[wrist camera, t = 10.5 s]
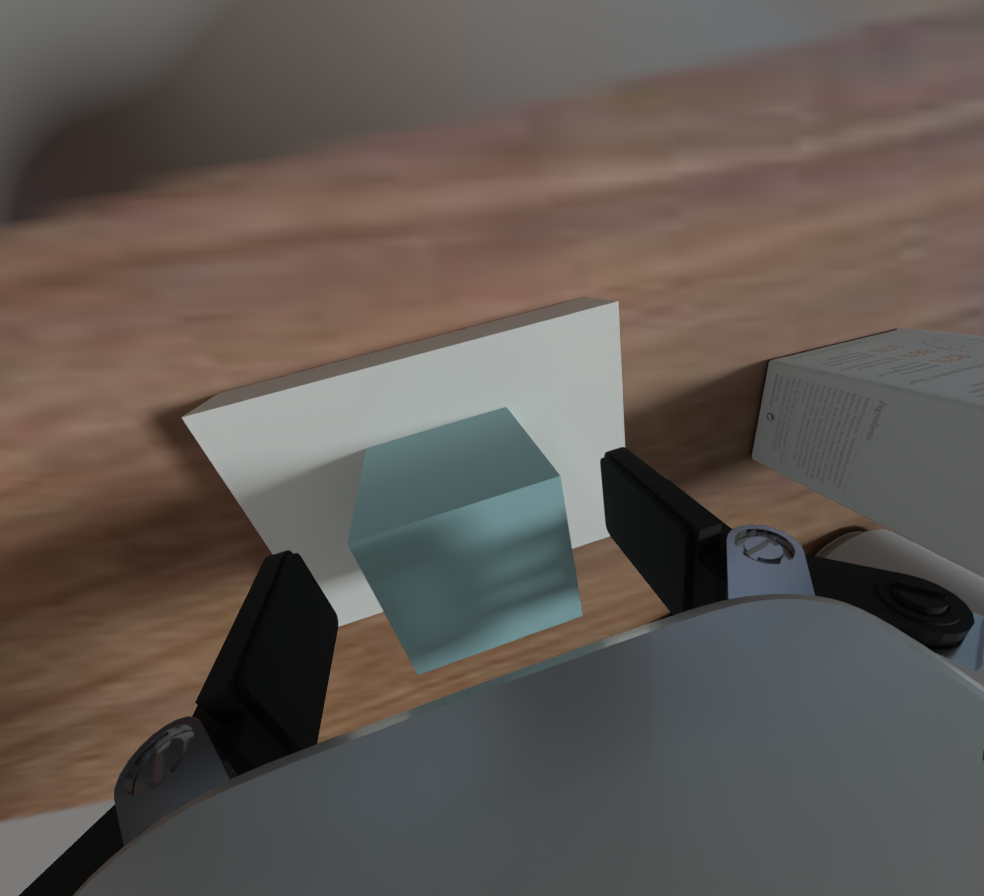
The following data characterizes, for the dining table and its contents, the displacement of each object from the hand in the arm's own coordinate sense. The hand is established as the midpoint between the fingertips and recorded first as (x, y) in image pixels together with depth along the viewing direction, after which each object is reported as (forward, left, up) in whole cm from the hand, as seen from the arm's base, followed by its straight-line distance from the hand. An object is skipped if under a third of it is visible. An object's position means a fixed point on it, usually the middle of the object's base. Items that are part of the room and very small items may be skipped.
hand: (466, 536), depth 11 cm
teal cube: (0, 0, -3) cm, 3 cm away
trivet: (0, 0, -6) cm, 6 cm away
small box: (-15, -13, -6) cm, 21 cm away
